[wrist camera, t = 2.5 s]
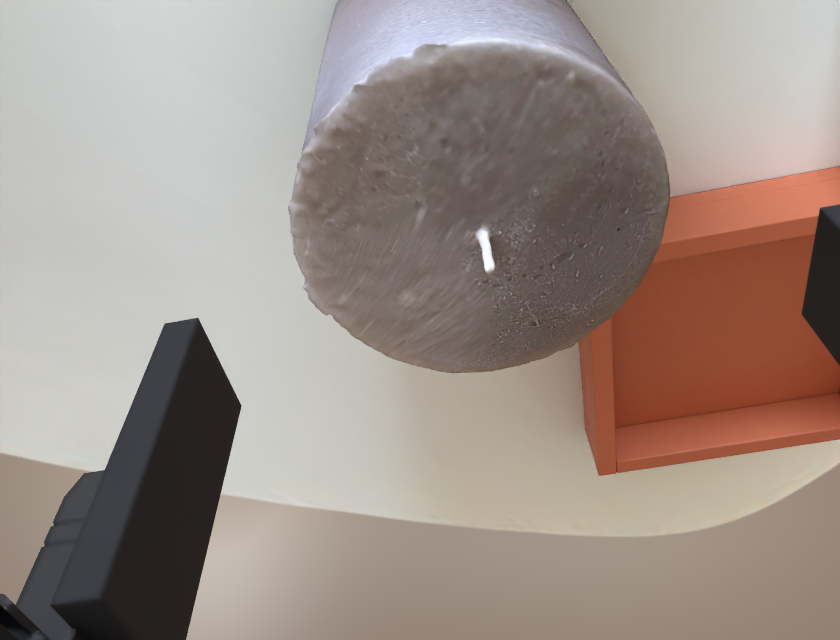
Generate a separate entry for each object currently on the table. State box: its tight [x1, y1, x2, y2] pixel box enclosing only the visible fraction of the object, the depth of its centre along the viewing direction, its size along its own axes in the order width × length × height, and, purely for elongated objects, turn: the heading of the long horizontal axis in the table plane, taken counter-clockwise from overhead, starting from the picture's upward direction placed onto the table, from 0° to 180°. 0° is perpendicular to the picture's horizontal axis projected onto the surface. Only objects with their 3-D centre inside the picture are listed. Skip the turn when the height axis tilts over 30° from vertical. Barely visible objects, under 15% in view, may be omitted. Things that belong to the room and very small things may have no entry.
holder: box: [579, 166, 840, 476], centre depth 36 cm, size 15×15×4 cm
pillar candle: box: [288, 0, 670, 373], centre depth 23 cm, size 10×10×15 cm
